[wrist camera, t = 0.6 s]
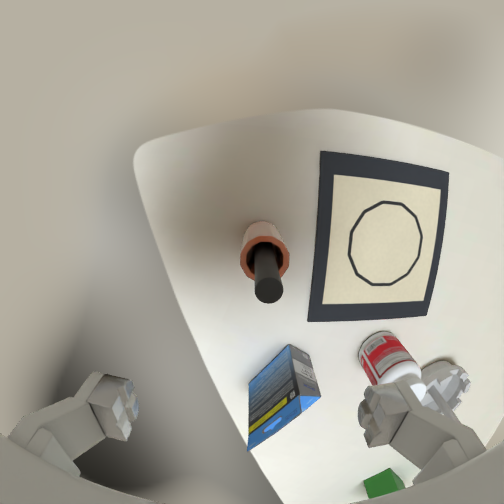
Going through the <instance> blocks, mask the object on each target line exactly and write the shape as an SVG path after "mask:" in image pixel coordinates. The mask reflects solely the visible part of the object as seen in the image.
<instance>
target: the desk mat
mask: <svg viewBox="0 0 504 504" xmlns="http://www.w3.org/2000/svg"><path fill="white" fill-rule="evenodd" d="M448 183H449V172H445V171H441V170H437V169H433V168H428V167H423V166H419V165H414V164H409V163H404V162H398V161H393V160H387V159H381V158H375V157H368V156H361V155H354V154H346V153H337V152H328V151H321V154H320V182H319V201H318V217H317V231H316V244H315V256H314V266H313V276H312V286H311V295H310V303H309V311H308V319H307V321H308V322H330V321H359V320H378V319H393V318H406V317H418V316H426V315H427V312H428V308H429V304H430V300H431V297H432V292H433V288H434V284H435V280H436V275H437V270H438V265H439V260H440V254H441V248H442V242H443V235H444V228H445V220H446V210H447V199H448Z"/></svg>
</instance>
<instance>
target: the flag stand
mask: <svg viewBox="0 0 504 504" xmlns="http://www.w3.org/2000/svg"><path fill="white" fill-rule="evenodd" d="M468 376H469V375H468V374H467V373H466V371H465V370H464V369H463V368H462V367H460V366H457V365H451V364H450V363H449V362H448V361H438V362H435V363H433V364H431V365H429V366H427V367H426V368H424V369H423V370H421V380H422V381H423V383H424V384H425V386H426V394H425V396H424V397H423V399H422V400H421V401H420V403H421V404H422V406H423V407H428V408H430V409H432V410H434V411H436V412H438V413H440V414H444V416H446V417H448V418H450V419H453V420H455V421H457V422H459V423H461V422H460V421H459V420H458V418H457V417H456V415H455V414H454V412H453V411H454V410H455V409H456V408H457V407H458V406H459V405H460V403H461V402H462V401H461V400H460V399H459V397H460V396H461V394H462V393H466V392H468V390H469V388H470V383H471V382H470V381H469V379H468V378H467V377H468Z"/></svg>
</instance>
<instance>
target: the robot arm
mask: <svg viewBox="0 0 504 504" xmlns="http://www.w3.org/2000/svg"><path fill="white" fill-rule="evenodd" d="M133 390H134V385H133V382H132V381H131V380H129V379H125V378H121V377H116V376H112V375H108V374H103V373H99V372H96V371H94V372H92V373H91V374H90V375H89V377H88V378H87V380H86V381H85V382H84V384H83V385H82V387H81V388H80V389H79V391H78V392H77V394H76V395H75V396H74V398H72V397H69V398H66V399H64V400H62V401H60V402H57V403H55V404H53V405H50V406H48V407H45V408H43V409H41V410H38V411H36V412H33V413H31V414H29V415H26V416H23V418H22V419H21V420H20V421H19V423H18V424H17V425H16V427H15V428H14V429H13V431H12V432H11V433H10V435H9V436H8V438H7V437H5V436H4V435H2V434H1V433H0V504H165V503H161V502H156V501H152V500H147V499H143V498H139V497H135V496H132V495H129V494H125V493H122V492H118V491H116V490H113V489H110V488H107V487H104V486H101V485H98V484H96V483H93V482H90V481H88V480H85V479H83V478H81V477H79V475H80V470H79V469H78V468H77V466H76V465H75V464H74V463H73V461H72V460H74V459H75V458H77V457H78V456H80V455H81V454H82V453H84V452H85V451H87V450H88V449H90V448H91V447H93V446H94V445H95V444H97V443H98V442H100V441H101V440H103V439H104V438H105V436H107V437H111V438H114V439H118V440H122V441H127V439H128V437H129V434H130V432H131V430H132V427H131V425H130V423H131V422H133V421H135V420H136V418H137V415H138V410H139V402H138V398H137V396H136V395H135V394H134V393H133ZM364 396H365V399H364V400H363V401H362V402H361V403H360V405H359V408H358V421H359V424H360V426H361V427H363V428H364V429H366V431H365V433H364V437H365V440H366V442H367V445H368V447H369V448H371V447H376V446H381V445H386V444H389V445H390V446H391V447H393V448H394V449H395V450H396V451H398V452H399V453H400V454H401V455H403V456H404V457H405V458H406V459H408V460H409V461H410V462H412V463H413V464H414V465H416V466H417V467H418V468H420V469H421V471H420V472H419V473H418V474H417V476H416V477H415V478H414V479H413V481H412V482H413V484H414V485H413V486H411V487H408V488H405V489H402V490H399V491H396V492H393V493H389V494H386V495H382V496H379V497H375V498H371V499H367V500H363V501H359V502H354V503H350V504H504V440H503V441H501V442H500V443H498V444H496V445H495V446H493V447H492V448H490V449H488V450H486V448H485V447H484V445H483V444H482V442H481V441H480V439H479V438H478V436H477V435H476V433H475V432H474V430H473V429H471V428H469V427H467V426H465V425H463V424H461V423H459V422H457V421H455V420H453V419H450V418H448V417H446V416H444V415H442V414H440V413H438V412H436V411H434V410H432V409H430V408H428V407H423V406H422V404H421V403H420V401H419V399H418V398H417V396H416V395H415V393H414V392H413V390H412V389H411V387H410V386H409V384H408V383H407V382H406V381H405V380H402V381H397V382H392V383H386V384H380V385H373V386H368V387H367V388H366V389H365V392H364Z"/></svg>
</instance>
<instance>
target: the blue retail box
mask: <svg viewBox="0 0 504 504" xmlns="http://www.w3.org/2000/svg"><path fill="white" fill-rule="evenodd" d="M320 397H321V394H320V391H319V387H318V384H317V380H316V377H315V373H314V370H313V367H312V363H311V360H310V356H309V355H307V354H306V353H304V352H302V351H300V350H298V349H297V348H295V347H293V346H291V345H288V346H287V347H286V348H285V349H284V350H283V351H282V352H281V353H280V354H279V355H278V356H277V357H276V358H275V359H274V360H273V361H272V362H271V363H270V364H269V365H268V366H267V367H266V368H265V369H264V370H263V371H262V372H261V373H260V374H259V375H258V376H257V377H256V378H255V379H253V380H252V381H251V382H250V383H249V435H248V436H249V438H248V446H247V452H248V451H250V450H251V449H252V448H254V447H256V446H257V445H259V444H260V443H262V442H263V441H265V440H266V439H268V438H269V437H270V436H272V435H274V434H275V433H276V432H278V431H279V430H280V429H282V428H283V427H284V426H286V425H287V424H288V423H290V422H291V421H292V420H293V419H295V418H296V417H298V416H299V415H300V414H301V413H302V412H304V411H305V410H306V409H307V408H308V407H310V406H311V405H312V404H313V403H314V402H316V401H317V400H318V399H319V398H320Z"/></svg>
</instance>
